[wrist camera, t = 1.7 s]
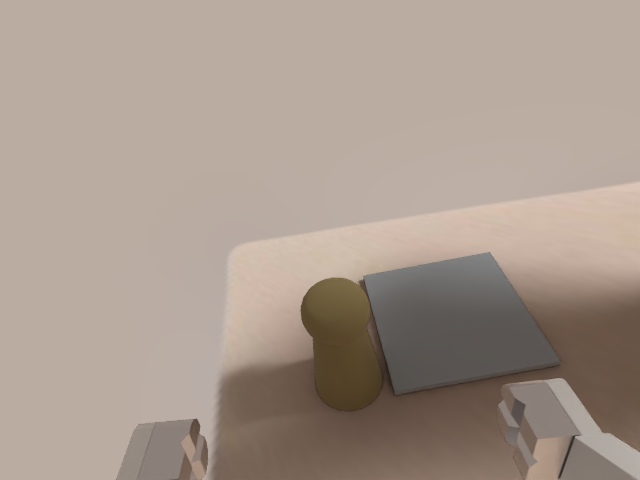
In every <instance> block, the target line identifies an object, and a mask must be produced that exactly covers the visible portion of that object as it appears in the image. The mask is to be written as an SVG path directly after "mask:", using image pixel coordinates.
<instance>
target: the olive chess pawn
mask: <svg viewBox="0 0 640 480" xmlns="http://www.w3.org/2000/svg"><path fill="white" fill-rule="evenodd" d="M301 317H302V322H303V325H304V326H305V328H306V330H307V331H308V333H309V334H310V335H311V336H312V337H313V349H314V367H315V382H316V389H317V392H318V394H319V396H320V397H321V399H322V400H323V401H324V402H325V403H326V404H327V405H329V406H331V407H333V408H335V409H338V410H344V411H353V410H358V409H362V408H363V407H365V406H367V405H369V404H371V403H372V402H373V401H374V399H375V398H376V397H377V396H378V395H379V393H380V390H381V388H382V385H383V374H382V371H381V367H380V364H379V362H378V359H377V356H376V353H375V350H374V347H373V344H372V341H371V338H370V335H369V333H368V330H367V325H368V322H369V318H370V304H369V301H368V297H367V295H366V293H365V292H364V291H363V290H362V288H361V287H360V286H359V285H357V284H356V283H354V282H352V281H351V280H348V279H344V278H330V279H325V280H322V281H320V282H318V283H316V284H315V285H314V286H312V287H311V288H310V289H309V290H308V292H307V293H306V295H305V296H304V298H303V301H302V305H301Z"/></svg>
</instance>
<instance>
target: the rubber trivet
mask: <svg viewBox="0 0 640 480" xmlns="http://www.w3.org/2000/svg"><path fill="white" fill-rule="evenodd" d="M363 277H364V282H365V286H366V290H367V293H368V297H369V301H370V305H371V308H372V312H373V316H374V319H375V323H376V327H377V331H378V334H379V338H380V342H381V345H382V349H383V353H384V357H385V360H386V364H387V368H388V371H389V375H390V379H391V382H392V386H393V390H394V394H395V395H399V394H405V393H410V392H416V391H421V390H426V389H432V388H437V387H443V386H448V385H454V384H459V383H465V382H470V381H475V380H481V379H486V378H492V377H497V376H503V375H508V374H514V373H519V372H524V371H530V370H535V369H541V368H546V367H552V366H557V365H559V364H560V362H561V361H560V359H559V357H558V356H557V354H556V353H555V351H554V350H553V348H552V347H551V345H550V344H549V342H548V341H547V339H546V337H545V336H544V334H543V333H542V331H541V330H540V328H539V327H538V325H537V324H536V322H535V321H534V319H533V317H532V316H531V314H530V313H529V311H528V310H527V308H526V307H525V305H524V304H523V302H522V301H521V299H520V297H519V296H518V294H517V293H516V291H515V290H514V288H513V287H512V285H511V284H510V282H509V281H508V279H507V277H506V276H505V274H504V273H503V271H502V270H501V268H500V267H499V265H498V264H497V262H496V261H495V259H494V257H493V256H492V254H491V253H490V252H488V253H483V254H478V255H472V256H467V257H462V258H456V259H451V260H446V261H440V262H435V263H430V264H424V265H419V266H414V267H408V268H403V269H398V270H392V271H387V272H382V273H376V274H371V275H366V276H363Z"/></svg>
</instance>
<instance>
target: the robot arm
mask: <svg viewBox="0 0 640 480" xmlns="http://www.w3.org/2000/svg"><path fill="white" fill-rule="evenodd" d="M500 394H501V396H502V398H503V401H502V402H501V403H499V404H498V410H497V417H498V424H499V427H500V430H501V433H502V435H503V437H504V439H505V441H506V442H507V443H508V444H510V445H511V446H512V447H514V448H515V451H514V456H513V459H514V461H515V463H516V465H517V467H518V469H519V471H520V473H521V475H522V477H523V479H524V480H640V452H638V451H637V450H635V449H634V448H632V447H630V446H629V445H627V444H626V443H624V442H623V441H621V440H619V439H618V438H616V437H615V436H613V435H612V434H610V433H602V431H601V430H600V428H599V427H598V426H597V424H596V423H595V421H594V420H593V418H592V417H591V416H590V414H589V413H588V411H587V410H586V409H585V407H584V406H583V404H582V403H581V401H580V400H579V399H578V397H577V396H576V394H575V393H574V392H573V390H572V389H571V387H570V386H569V384H568V383H567V382H566V381H565V380H564V379H562V378H555V379H547V380H534V381H526V382H518V383H510V384H504V385H503V386H502V388H501V393H500ZM199 431H200V424H199V422H198V420H197V419H190V420H178V421H167V422H156V423H146V424H139V425H138V426H137V427H136V429H135V430H134V432H133V434H132V437H131V440H130V443H129V445H128V448H127V451H126V454H125V457H124V459H123V462H122V465H121V468H120V470H119V474H118V476H117V479H116V480H202V478H203V477H204V476H205V475H206V470H207V464H208V448H207V443H206V440H205V437H204V436H202V435H200V434H199Z"/></svg>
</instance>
